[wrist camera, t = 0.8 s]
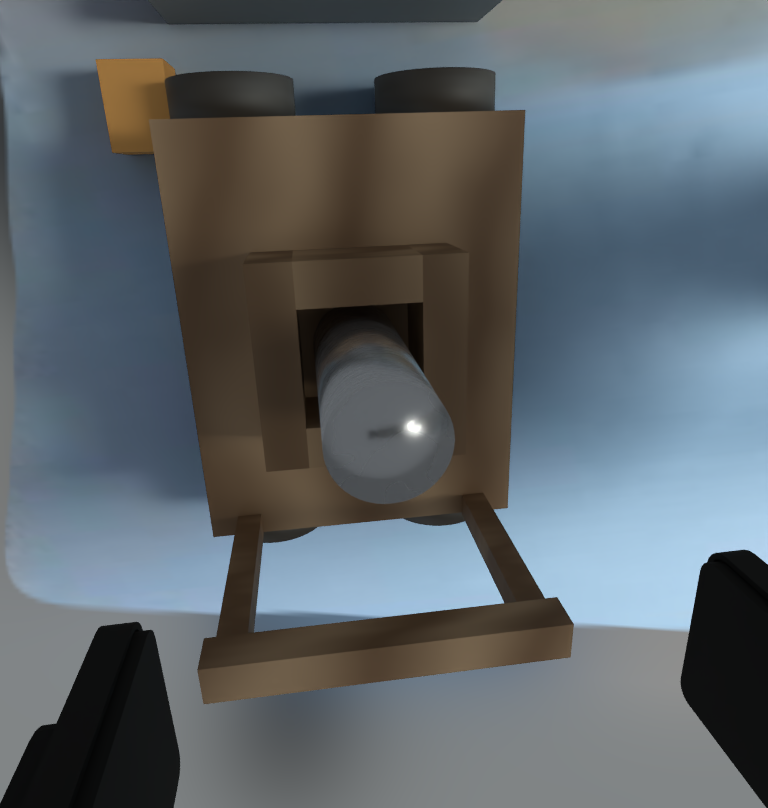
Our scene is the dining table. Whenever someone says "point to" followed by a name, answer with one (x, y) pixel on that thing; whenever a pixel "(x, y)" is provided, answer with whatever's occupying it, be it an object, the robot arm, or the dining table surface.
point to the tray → (320, 11)
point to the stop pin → (377, 409)
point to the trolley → (294, 345)
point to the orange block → (133, 100)
